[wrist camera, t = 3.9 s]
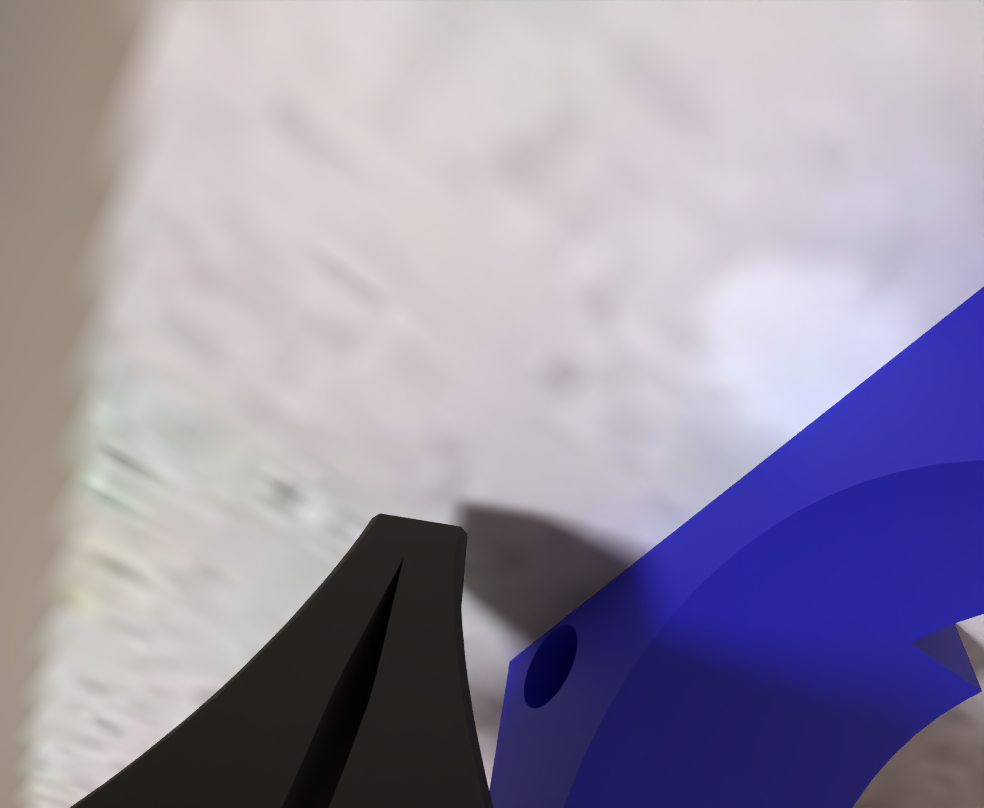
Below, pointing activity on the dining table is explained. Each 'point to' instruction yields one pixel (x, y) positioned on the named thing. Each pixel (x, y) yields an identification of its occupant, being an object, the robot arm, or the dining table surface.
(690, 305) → the dining table surface
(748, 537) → the blue block with holes
